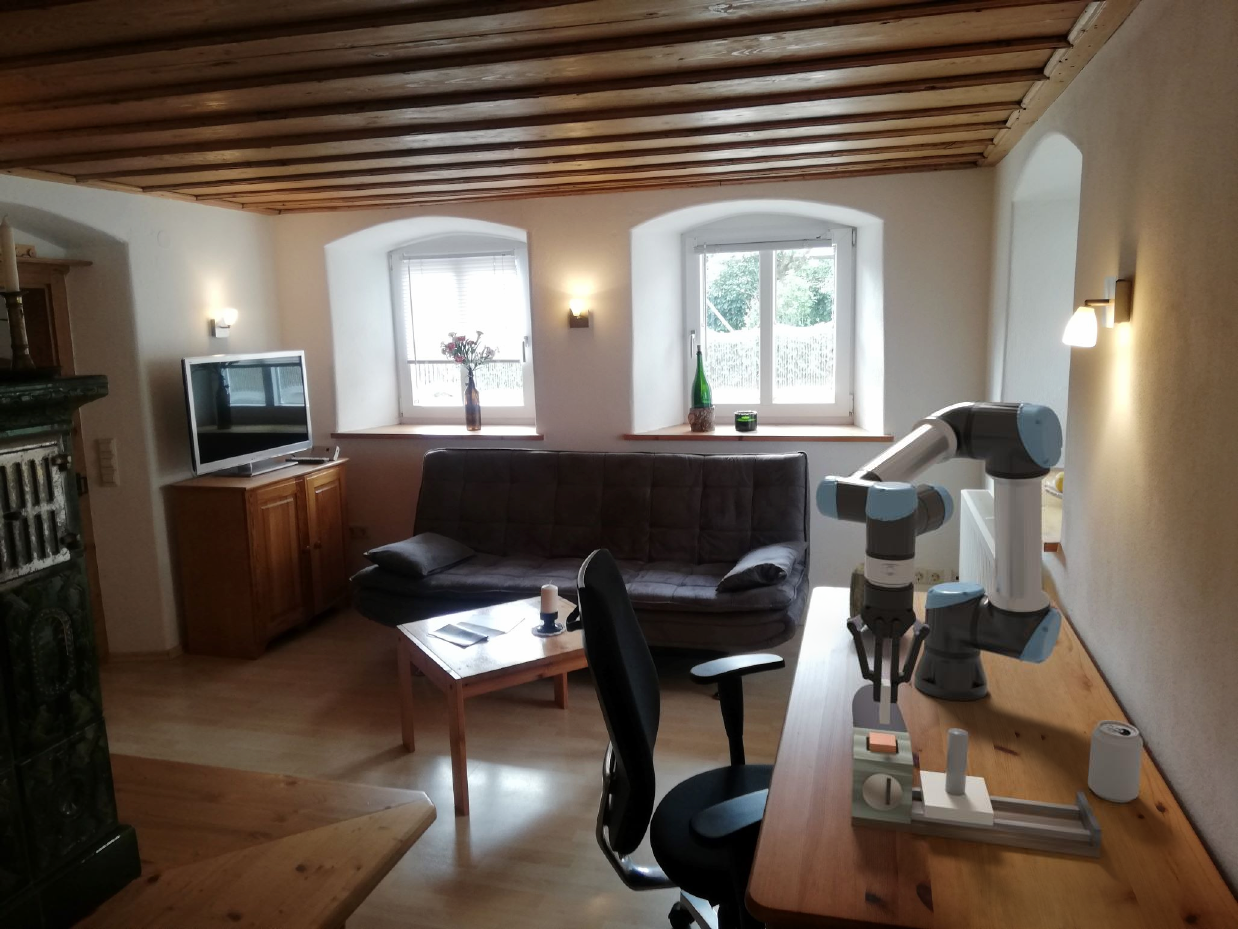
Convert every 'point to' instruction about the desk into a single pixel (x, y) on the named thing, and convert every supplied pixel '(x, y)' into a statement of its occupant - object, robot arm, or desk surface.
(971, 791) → the carriage
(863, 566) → the tabletop clock
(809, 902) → the desk surface
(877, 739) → the button
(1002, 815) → the rail bed
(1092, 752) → the can
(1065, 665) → the desk surface
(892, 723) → the bluetooth speaker
